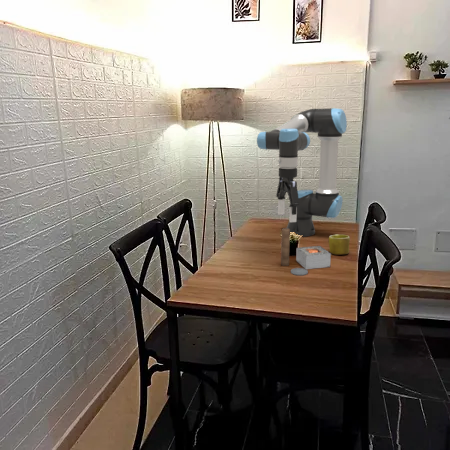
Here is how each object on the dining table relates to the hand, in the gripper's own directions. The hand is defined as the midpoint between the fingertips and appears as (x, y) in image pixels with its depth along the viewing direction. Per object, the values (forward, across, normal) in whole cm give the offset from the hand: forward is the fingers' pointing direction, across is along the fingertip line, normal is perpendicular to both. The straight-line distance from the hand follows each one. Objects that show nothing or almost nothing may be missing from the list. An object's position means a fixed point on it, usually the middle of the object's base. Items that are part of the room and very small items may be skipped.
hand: (286, 218), depth 183 cm
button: (+17, +2, +12) cm, 21 cm away
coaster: (+21, +10, +2) cm, 23 cm away
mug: (+21, -10, +30) cm, 38 cm away
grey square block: (+21, +2, +12) cm, 24 cm away
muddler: (+21, 0, 0) cm, 21 cm away
